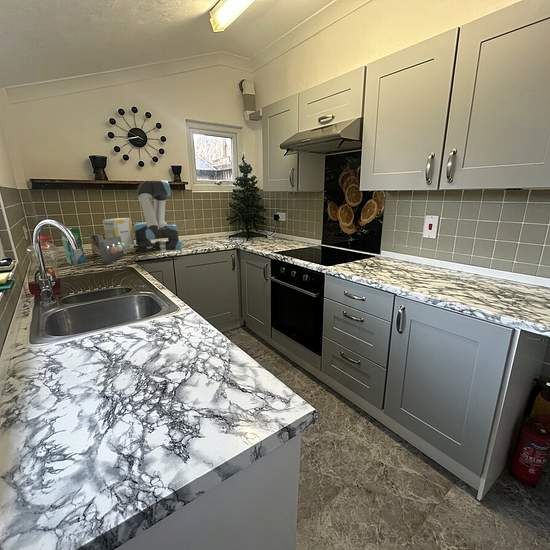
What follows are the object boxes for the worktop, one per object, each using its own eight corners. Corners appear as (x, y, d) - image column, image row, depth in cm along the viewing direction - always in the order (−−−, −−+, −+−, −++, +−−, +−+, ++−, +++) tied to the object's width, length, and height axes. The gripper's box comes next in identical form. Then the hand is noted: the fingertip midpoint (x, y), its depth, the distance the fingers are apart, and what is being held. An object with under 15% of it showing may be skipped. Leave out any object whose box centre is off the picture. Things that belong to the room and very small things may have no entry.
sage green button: (125, 248, 230) (124, 242, 229) (122, 249, 226) (121, 243, 225) (121, 248, 230) (120, 242, 229) (118, 249, 226) (117, 243, 225)
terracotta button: (117, 252, 215) (116, 246, 213) (114, 254, 211) (113, 247, 209) (113, 252, 215) (112, 246, 213) (110, 254, 210) (109, 248, 209)
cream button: (122, 250, 222) (121, 244, 221) (120, 251, 218) (119, 245, 217) (118, 250, 222) (117, 244, 221) (115, 251, 218) (114, 245, 217)
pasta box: (119, 256, 236) (113, 220, 228) (108, 255, 239) (102, 220, 231) (135, 251, 253) (130, 218, 245) (125, 250, 256) (120, 218, 248)
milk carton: (81, 260, 223) (74, 227, 216) (85, 262, 217) (78, 228, 210) (67, 263, 216) (59, 228, 209) (71, 264, 210) (63, 229, 203)
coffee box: (107, 254, 245) (104, 234, 240) (101, 255, 239) (97, 235, 234) (99, 253, 247) (95, 234, 243) (92, 255, 241) (88, 235, 237)
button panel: (124, 256, 234) (120, 236, 229) (108, 264, 211) (104, 241, 206) (113, 256, 234) (110, 236, 229) (96, 264, 211) (92, 241, 206)
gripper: (163, 239, 230) (133, 240, 229) (157, 242, 217) (125, 243, 217) (164, 249, 232) (134, 249, 231) (158, 252, 219) (126, 253, 219)
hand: (130, 246), depth 224 cm, fingers closed
